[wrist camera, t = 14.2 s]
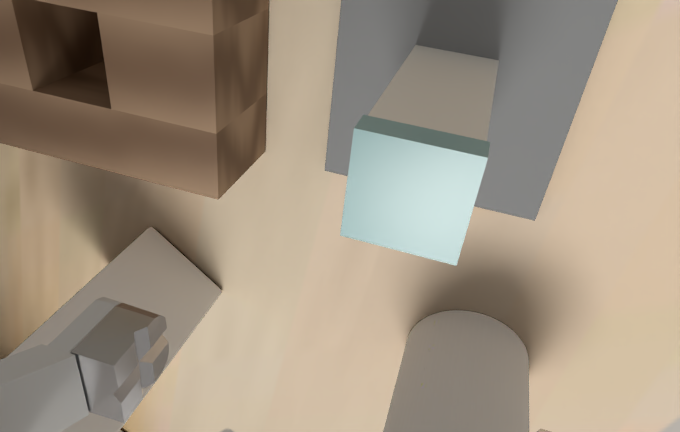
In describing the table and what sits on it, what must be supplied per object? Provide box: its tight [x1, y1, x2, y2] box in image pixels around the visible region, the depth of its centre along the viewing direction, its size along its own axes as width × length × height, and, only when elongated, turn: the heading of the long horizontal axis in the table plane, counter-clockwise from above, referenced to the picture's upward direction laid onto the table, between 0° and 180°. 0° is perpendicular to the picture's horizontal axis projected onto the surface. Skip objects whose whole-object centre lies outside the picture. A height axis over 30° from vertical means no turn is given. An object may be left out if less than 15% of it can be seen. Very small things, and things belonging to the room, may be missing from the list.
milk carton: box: [7, 227, 222, 432], centre depth 33 cm, size 7×7×19 cm
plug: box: [340, 45, 499, 266], centre depth 22 cm, size 4×4×11 cm
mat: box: [325, 0, 618, 221], centre depth 26 cm, size 12×12×1 cm
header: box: [0, 0, 269, 199], centre depth 28 cm, size 12×16×6 cm
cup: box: [383, 310, 529, 432], centre depth 31 cm, size 8×8×12 cm
